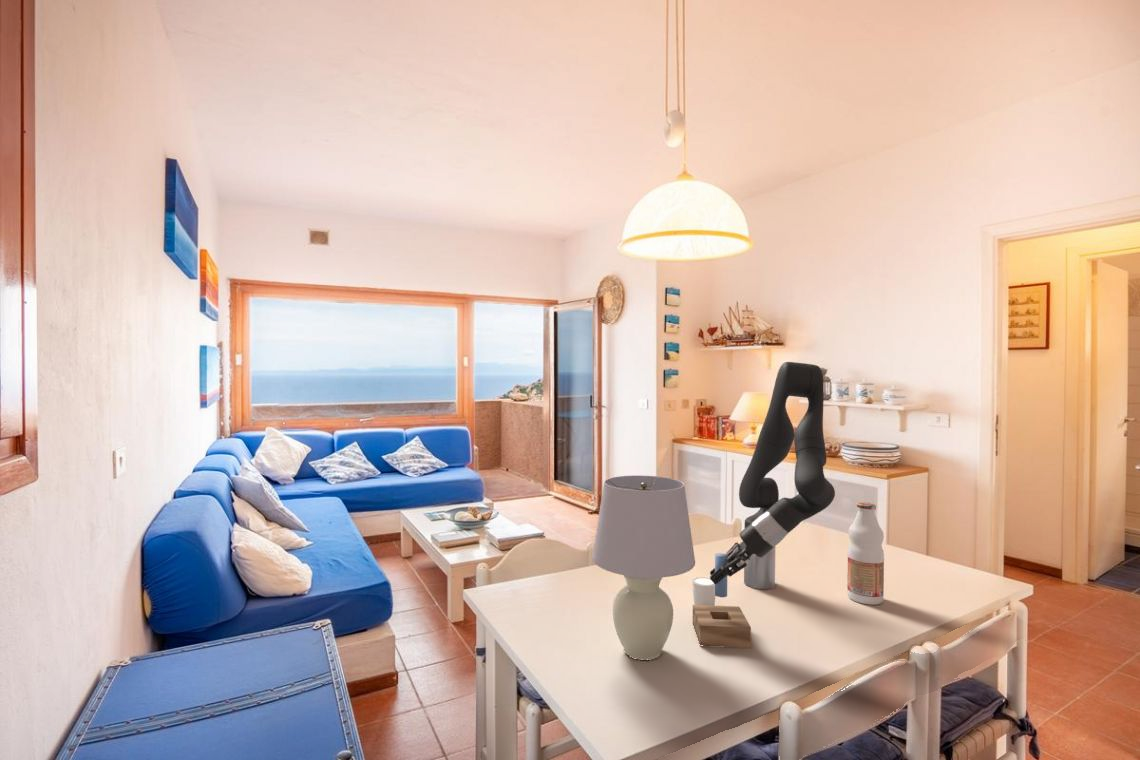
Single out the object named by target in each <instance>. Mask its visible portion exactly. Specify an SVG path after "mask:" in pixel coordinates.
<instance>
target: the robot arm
mask: <svg viewBox="0 0 1140 760" xmlns="http://www.w3.org/2000/svg"><path fill="white" fill-rule="evenodd" d="M776 374H777V375H776V379H775V382H774V387H773V390H772V394H771V399H770V403H769V406H768V410H767V413H766V416H765V419H764V422H763V424H762V427H761V429H760V433H759V435H758V438H757V443H756V446H755V449H754V451H753V454H752V457H751V459H750V462H749V465H748V467H747V468H746V471H745V472H744V475H743V478H742V479H741V483H740V484H739V490H738V498H739V502H740V504H741V505H742V506H743V507H745V508H750V509H758V511H756V513H754V514H752V515H749V516H748V517H746V518H745V520H744V529H742V530H741V531H740V532H739V538H740V539H741V540H742V541H741V542H740V543H738V541H737V542H735V543H734V544H733V545H732V546H731V547H730V548H729V549H728V551H726V553H725V554H726V555H727V559H726V562H725V563H724V564H723V565H722V566H721V567H720V568H719V569H718V570H717V571H716V572H715V567H713V569H711V570H710V572H709V575H710V576H709V578H710V580H711V581H712V582H713V583H714V584H717V583H719V582H720V581H721V580H722V579H723V578H724V577H725V576H727V577H732V576H733V575H735V574H736V573H738V572H740V571H741V570H743V583H744V584H745V585H746V586H748V587H750V588H753V589H759V590H771V589H773V588H775V586H776V546H777V545H778V544H780V543H781V542H782V540H784V539H785V538H786V536H788V534H789V533H791V532H792V531H793V530H794V529H795V528H796V527H797V526H799V525H800V524H801V522H803V521H805V520H807V519H810V518H811V517H813V516H815V515H817V514H819V513H821V512H823V511H824V510H825V509H827V508H828V507H829V506H830V505H831V504H832V503H833V501H834V500H835V496H836V490H835V487H834V486H833V485H832V483H831V482H830V481H829V480H828V479H827V478H826V476H825V472H824V466H826V464H827V461H828V459H827V452H826V451H827V450H826V444H825V437H824V403H825V402H824V397H825V396H824V394H825V393H824V391H825V387H824V386H825V385H824V383H825V381H824V374H823V370H822V369H821V367H820V366H818V365H816V364H812V363H804V362H796V361H795V362H794V361H785V362H783V363H782V364H781V365H780V367H779V369H778V371H777V373H776ZM789 397H796V398H797V397H798V398H806V399H807V402H808V406H807V410H806V412H805V414H804V415H803V417H802V419H801V420H800V421H799V423H798V424H797V427H796V429H795V430H794V425H793V423H792V421H791V419H790V416H789V414H788V410H787V407H786V406H787V405H786V403H787V400H788V398H789ZM793 444H794V450H795V452H794V453H795V458H796V459H795V460H796V461H795V467H794V469H795V470H794V477H793V478H794V486H795V489H796V491H797V493H798V494H796V495H795V496H792V497H791V498H790V497H781V498H779V497H780V495H779V493H780V492H779V486H778V483H777V481H776V480H775V479H773V478H772V477H766V475H768V474H769V473H770V472H771V471H772V470H773V469H775V468H776V467H778V465H779V464H781V463H782V462H784V460H785V459H786V458H787V456H788V455H789V453H790V450H791V447H792V445H793Z"/></svg>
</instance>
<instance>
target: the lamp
mask: <svg viewBox="0 0 1140 760" xmlns="http://www.w3.org/2000/svg"><path fill="white" fill-rule="evenodd" d="M685 485H686V484H685V483H684V482H683V481H682V480H679V479H675V478H671V477H664V476H656V475H639V474H638V475H620V476H613V477H609V478H606V479H605V480H604V481H603V485H602V486H603V487H602V492H601V499H600V505H599V506H600V507H599V513H598V520H597V525H596V526H597V527H596V531H595V537H594V543H593V550H592V557H591V559H592V561H593V563H594V564H595V565H596V566H598V567H599V568H601V569H602V570H605V571H606V572H610V573H613V574H617V575H619V576H623V577H624V579H625V581H626V585H625V586H623V587H622V588H620V590H619V591H618V592H617V594H616V595H615V597H614V599H613V603H612V618H613V624H614V628H615V633H616V635H617V638H618V640H619V641H620V644H621V645H622V648H623V652H624V651H625V653H626V654H627V655H629V656H631V657H633V658H636V659H643V660H647V659H648V660H649V659H654V658H657V657H658V656H659V657H660V656H661V655H660V654H662V650H663V648H664V646H665V645H666V643H667V640H668V638H669V636H670V634H671V631H672V627H673V621H674V606H673V603H672V600H671V598H670V596H669V595H668V594H667V592H666V591H665V590H663V589H662V588H661V587H660V584H661V581H662V579H663V578H669V577H675V576H679V575H683V574H686V573H688V572H690V571H691V570H693V568H694V567H695V566H696V559H695V557H696V556H695V551H694V545H693V544H694V543H693V537H692V529H691V523H690V515H689V509H688V502H687V495H686V487H685ZM625 653H624V654H625ZM626 654H625V655H626ZM627 655H626V656H627ZM659 657H658V658H659ZM658 658H657V659H658ZM654 660H655V659H654Z"/></svg>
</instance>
